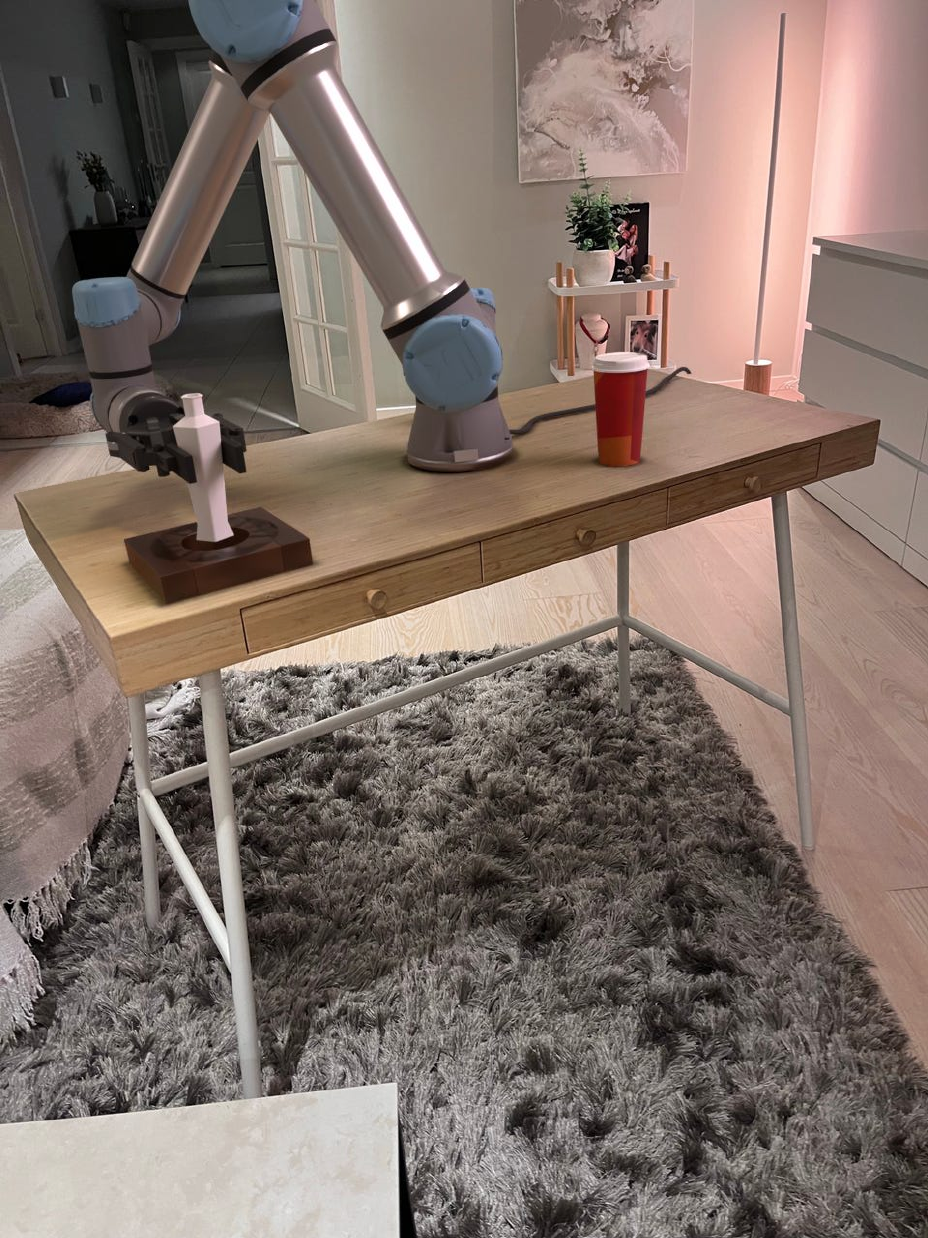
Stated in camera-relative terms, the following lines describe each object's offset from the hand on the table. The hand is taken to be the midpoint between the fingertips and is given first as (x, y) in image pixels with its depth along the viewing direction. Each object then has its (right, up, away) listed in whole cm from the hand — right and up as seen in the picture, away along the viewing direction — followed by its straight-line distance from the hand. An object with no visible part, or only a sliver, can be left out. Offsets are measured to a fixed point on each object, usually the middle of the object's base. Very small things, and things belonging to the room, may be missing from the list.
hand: (216, 464), depth 93 cm
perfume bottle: (-2, -7, +8) cm, 11 cm away
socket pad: (-2, -9, +9) cm, 13 cm away
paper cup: (+46, +6, +36) cm, 59 cm away
